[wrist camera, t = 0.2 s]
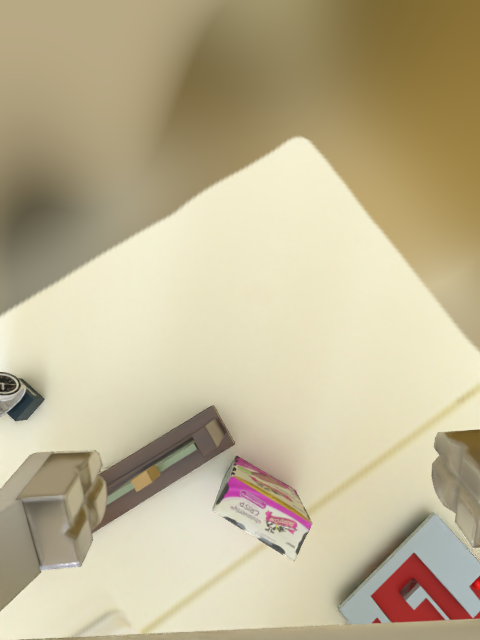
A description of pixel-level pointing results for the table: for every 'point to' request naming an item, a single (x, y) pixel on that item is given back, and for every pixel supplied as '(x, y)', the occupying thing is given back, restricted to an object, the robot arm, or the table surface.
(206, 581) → the table surface
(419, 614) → the maze game
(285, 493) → the candy bar box
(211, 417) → the window frame
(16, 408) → the watch
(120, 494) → the window pane
